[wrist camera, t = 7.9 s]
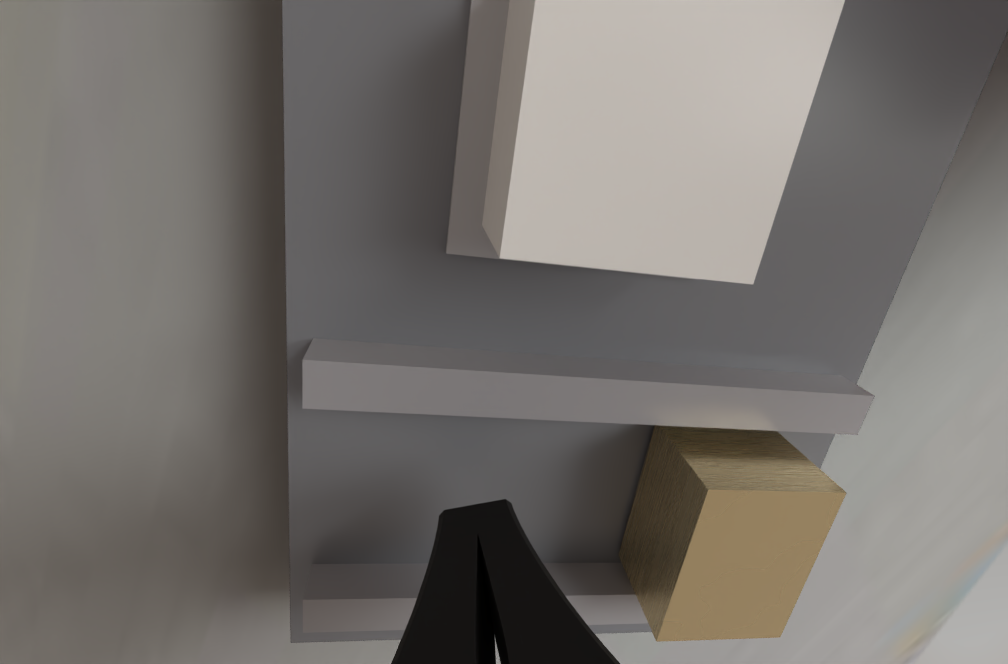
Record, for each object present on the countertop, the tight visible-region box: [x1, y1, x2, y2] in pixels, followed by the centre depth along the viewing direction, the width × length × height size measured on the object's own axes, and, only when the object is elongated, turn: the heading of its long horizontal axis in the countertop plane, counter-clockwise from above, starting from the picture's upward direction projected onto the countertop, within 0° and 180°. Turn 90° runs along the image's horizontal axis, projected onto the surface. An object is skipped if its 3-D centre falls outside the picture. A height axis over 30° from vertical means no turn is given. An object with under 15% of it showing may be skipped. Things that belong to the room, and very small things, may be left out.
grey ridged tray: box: [282, 0, 1008, 643], centre depth 10 cm, size 13×24×3 cm, turn 172°
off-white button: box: [482, 0, 845, 284], centre depth 8 cm, size 4×4×2 cm
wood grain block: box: [618, 425, 846, 641], centre depth 12 cm, size 3×4×2 cm
